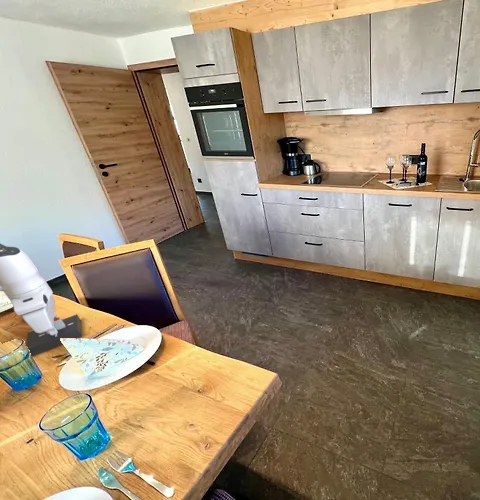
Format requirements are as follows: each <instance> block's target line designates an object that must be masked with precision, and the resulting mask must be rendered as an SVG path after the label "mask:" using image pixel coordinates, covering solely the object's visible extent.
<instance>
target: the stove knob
mask: <svg viewBox="0 0 480 500" xmlns="http://www.w3.org/2000/svg"><path fill="white" fill-rule="evenodd" d="M62 320H63V319H62V318H61V317H58V316H57V318H55V319H54V322H53V326H54V327H56V328H57V330H59V329H62V328H65V324H64V322H63V321H62ZM46 333H47V334H49V332H47V331H46Z"/></svg>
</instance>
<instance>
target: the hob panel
mask: <svg viewBox="0 0 480 500" xmlns="http://www.w3.org/2000/svg"><path fill="white" fill-rule="evenodd" d="M62 321H63V322H64V324H65V328H62V329H59V330H58V333H57V334H54V335H50V334H47V333H46V332H43V333H40V334H38V333H36V332H35V331H34V330H33V329H32V330H31V331H28V332H27V335H26V341H25V345H26V346H27V347H28V349H29V350H30V353H31V356H32V357H34V356H36V355H39V354H41V353H45V352H47V351H49V350H52V349H54V348H57V347H59V346H62V345H63V344H62V343H61V341H60V338H76V339H78V338H81V337H83V333H82V330H83V329H82V320H81V318H80V316H79V315H78V314H74V315H71V316H69V317H66V318H63V319H62Z"/></svg>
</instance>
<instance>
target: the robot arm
mask: <svg viewBox="0 0 480 500" xmlns="http://www.w3.org/2000/svg"><path fill="white" fill-rule="evenodd" d="M3 291H4V292H5V293H6V294H5V293H4V292H3ZM0 292H3V293H4V294H5V296H6V295H7V296H8V297H9V298H8V297H7V296H6V297H7V298H8V299H10V303H11V304H12V307H13V311H14V313H15V314H16V316H18V317H19V316H21V317H22V319H23V321H24V322H25V323H26V324H27V325H28V326H29V328H30V329H31V330H32V331H33V330H34V331H35V332H36V333H38V334H40V333H43V332H46V331H47V332H49V334H50V335H54V334H57V333H58V330H57V328H56V327H54V326H53V322H54V319H55V318H58V316H57V314H56V311H55V306H56V301H55V299H54V297H53V293H54V291H53V290H52V287H50V285H49V284H48V282H47V281H46V279H45V278H44V277H42V276H41V275H40V274H39V269H38V268H37V266H36V265H35V263H34V262H33V260H32V259H31V258H30V256H29V255H28V254H27V253H26V252H25V251H23V250H22V249H20V248H19V247H17V246H7V245H4V244H2V243H0Z"/></svg>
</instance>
